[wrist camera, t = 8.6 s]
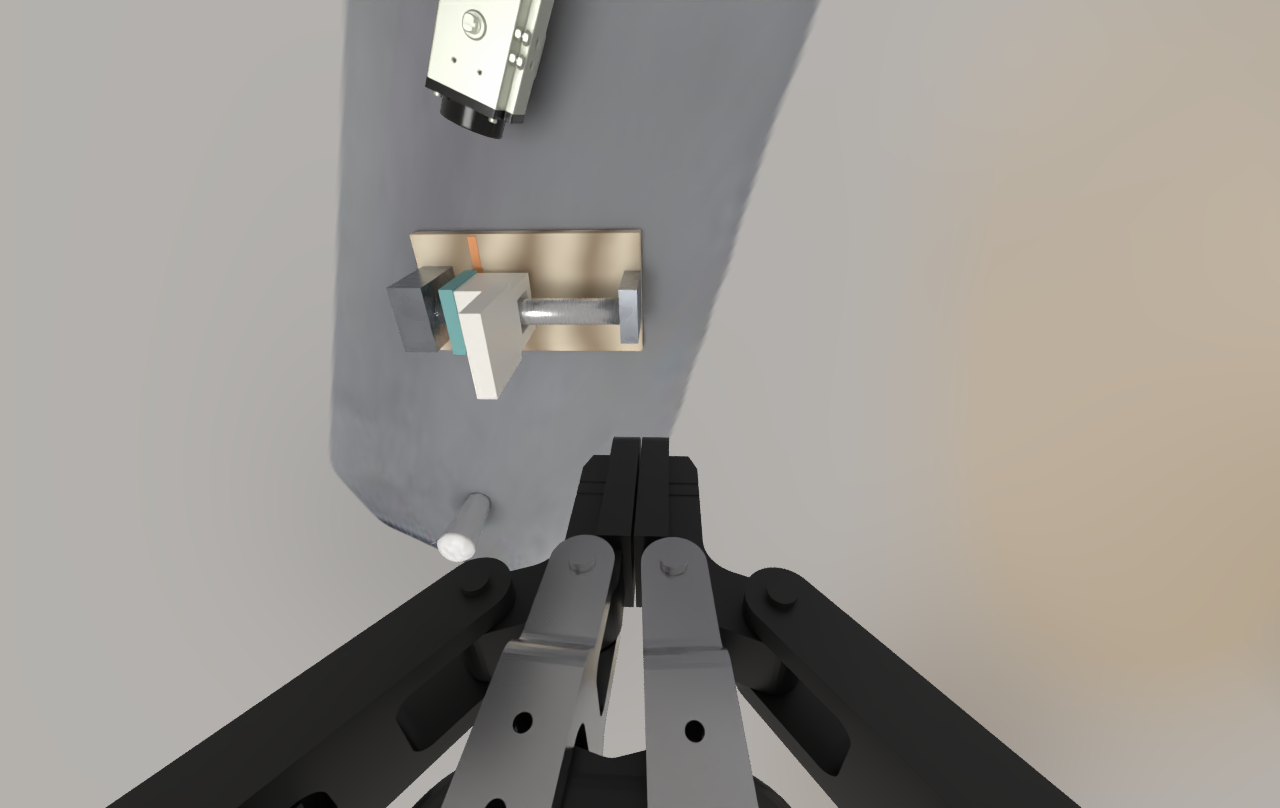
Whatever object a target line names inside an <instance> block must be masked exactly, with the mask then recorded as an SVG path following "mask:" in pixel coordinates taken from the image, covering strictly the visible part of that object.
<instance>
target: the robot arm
mask: <svg viewBox="0 0 1280 808" xmlns="http://www.w3.org/2000/svg"><path fill="white" fill-rule="evenodd" d="M635 582H636V606H637V607H642V620H643V656H644V657H643V658H644V694H645V731H646V750H645V751H641V752H637V753H633V754H629V755H625V756H621V757H616V758H607V757H603V746H604V730H605V722H606V716H607V710H608V705H609V699H610V693H611V688H612V681H613V676H614V670H615V665H616V659H617V654H618V648H619V642H620V631H621V626H622V617H623V607H633V606H634V593H635ZM735 684H736V686H737V687H738V690H739V691H740V693H741V694H742V695H743V696H744V698H745V699H746V700H747V701H748V702H749V703H750V705H751V706H752V707H753V708H754V709H755V710H756V712H757V713H758V714H759V715H760V716H761V718H762V719H763V720H764V721H765V722H766V723H767V725H768V726H769V727H770V728H771V729H772V730H773V732H774V733H775V734H776V735H777V736H778V737H779V739H780V740H781V741H782V742H783V743H784V745H785V746H786V747H787V748H788V749H789V750H790V752H791V753H792V754H793V755H794V756H795V757H796V758H797V760H798V761H799V762H800V763H801V764H802V766H803V767H804V768H805V769H806V770H807V771H808V773H809V774H810V775H811V776H812V777H813V778H814V780H815V781H816V782H817V783H818V784H819V785H820V787H821V788H822V789H823V790H824V791H825V792H826V794H827V795H828V796H829V797H830V798H831V800H832V801H833V802H834V803H835V804H836V805H837V806H838V808H1081V807H1080V806H1079V805H1078V804H1076V803H1075V802H1074V801H1073V800H1071V799H1070V798H1069V797H1068V796H1067V795H1065V794H1064V793H1063V792H1062V791H1061V790H1059V789H1058V788H1057V787H1056V786H1054V785H1053V784H1052V783H1051V782H1050V781H1048V780H1047V779H1046V778H1045V777H1043V776H1042V775H1041V774H1040V773H1039V772H1038V771H1036V770H1035V769H1034V768H1033V767H1031V766H1030V765H1029V764H1028V763H1027V762H1025V761H1024V760H1023V759H1022V758H1021V757H1019V756H1018V755H1017V754H1016V753H1014V752H1013V751H1012V750H1011V749H1009V748H1008V747H1007V746H1006V745H1005V744H1004V743H1002V742H1001V741H1000V740H999V739H998V738H996V737H995V736H994V735H993V734H991V733H990V732H989V731H988V730H987V729H985V728H984V727H983V726H982V725H981V724H979V723H978V722H977V721H976V720H974V719H973V718H972V717H971V716H970V715H969V714H967V713H966V712H965V711H964V710H962V709H961V708H960V707H959V706H958V705H956V704H955V703H954V702H953V701H951V700H950V699H949V698H948V697H947V696H946V695H944V694H943V693H942V692H941V691H939V690H938V689H937V688H936V687H934V686H933V685H932V684H931V683H930V682H929V681H927V680H926V679H925V678H924V677H923V676H921V675H920V674H919V673H918V672H916V671H915V670H914V669H913V668H912V667H910V666H909V665H908V664H907V663H905V662H904V661H903V660H902V659H901V658H899V657H898V656H897V655H896V654H895V653H893V652H892V651H891V650H890V649H889V648H887V647H886V646H885V645H884V644H883V643H881V642H880V641H879V640H878V639H876V638H875V637H874V636H873V635H872V634H870V633H869V632H868V631H867V630H866V629H864V628H863V627H862V626H861V625H860V624H858V623H857V622H856V621H855V620H853V619H852V618H851V617H850V616H849V615H847V614H846V613H845V612H844V611H842V610H841V609H840V608H839V607H837V606H836V605H835V604H834V603H833V602H832V601H830V600H829V599H828V598H827V597H826V596H824V595H823V594H822V593H821V592H820V591H818V590H817V589H816V588H815V587H814V586H812V585H811V584H810V583H809V582H807V581H806V580H805V579H804V578H802V577H801V576H800V575H798V574H796V573H794V572H792V571H789V570H786V569H782V568H764V569H761V570H759V571H757V572H755V573H754V574H752V575H751V576H750V577H746V576H743V575H740V574H737V573H733V572H731V571H728V570H726V569H724V568H722V567H720V566H719V565H718V564H716V563H715V562H714V561H713V560H711V558H710V557H709V556H708V554H707V553H706V551H705V549H704V546H703V539H702V527H701V514H700V500H699V487H698V474H697V468H696V467H695V465H694V464H693V462H692V461H691V460H690V458H689V457H685V456H669V438H662V437H643V438H642V447H641V438H640V437H614V438H613V443H612V448H611V454H610V455H594V456H593V457H592V458H591V459H590V460H589V461H588V462H587V463H586V465H585V466H584V467H583V470H582V474H581V478H580V484H579V486H578V490H577V495H576V498H575V502H574V506H573V510H572V514H571V518H570V522H569V526H568V530H567V534H566V538H565V541H563V542H562V543H560V544H559V545H558V546H557V547H556V548H555V549H554V551H553V552H552V554H551V556H550V558H549V559H548V560H546V561H544V562H542V563H540V564H537V565H534V566H530V567H526V568H522V569H518V570H514V571H510V570H509V568H508V567H507V566H506V564H505V563H503V562H502V561H500V560H498V559H494V558H477V559H473V560H470V561H467V562H465V563H463V564H461V565H460V566H458V567H456V568H455V569H454V570H452V571H451V572H449V573H448V574H446V575H445V576H443V577H442V578H440V579H439V580H438V581H436V582H435V583H433V584H432V585H430V586H429V587H427V588H426V589H424V590H423V591H421V592H420V593H418V594H417V595H416V596H414V597H413V598H411V599H410V600H408V601H407V602H405V603H404V604H402V605H401V606H400V607H398V608H397V609H395V610H394V611H392V612H391V613H389V614H388V615H386V616H385V617H383V618H382V619H381V620H379V621H378V622H376V623H375V624H373V625H372V626H370V627H369V628H367V629H366V630H364V631H363V632H362V633H360V634H359V635H357V636H356V637H354V638H353V639H351V640H350V641H348V642H347V643H345V644H344V645H343V646H341V647H340V648H338V649H337V650H335V651H334V652H332V653H331V654H329V655H328V656H327V657H325V658H324V659H322V660H321V661H320V662H318V663H316V664H315V665H314V666H312V667H311V668H309V669H307V670H306V671H305V672H303V673H302V674H300V675H299V676H297V677H296V678H294V679H293V680H291V681H290V682H289V683H287V684H286V685H284V686H283V687H282V688H280V689H278V690H277V691H275V692H274V693H272V694H271V695H270V696H268V697H267V698H265V699H264V700H262V701H261V702H259V703H258V704H256V705H255V706H253V707H252V708H251V709H249V710H248V711H246V712H245V713H243V714H242V715H240V716H239V717H238V718H236V719H234V720H233V721H232V722H230V723H229V724H227V725H226V726H224V727H223V728H221V729H220V730H219V731H217V732H215V733H214V734H213V735H211V736H210V737H208V738H207V739H205V740H204V741H202V742H201V743H200V744H198V745H196V746H195V747H194V748H192V749H191V750H189V751H188V752H186V753H185V754H183V755H182V756H180V757H179V758H178V759H176V760H175V761H173V762H172V763H170V764H169V765H167V766H166V767H164V768H163V769H161V770H160V771H159V772H157V773H156V774H154V775H153V776H151V777H150V778H148V779H147V780H146V781H144V782H142V783H141V784H140V785H138V786H137V787H135V788H134V789H132V790H131V791H129V792H128V793H126V794H125V795H123V796H122V797H121V798H119V799H118V800H116V801H115V802H113V803H112V804H110V805H109V806H108V807H106V808H386V807H387V806H388V805H389V804H390V803H391V802H392V801H394V800H395V799H396V798H397V797H398V796H399V795H400V794H401V793H402V792H403V791H404V790H405V789H406V788H407V787H408V786H409V785H411V784H412V783H413V782H414V781H415V780H416V779H417V778H418V777H419V776H420V775H421V774H422V773H423V772H424V771H425V770H426V769H427V768H429V766H431V765H432V764H433V763H434V762H435V761H436V760H437V759H438V758H439V757H440V756H441V755H442V754H443V753H444V752H446V751H447V749H449V747H451V746H452V745H453V744H454V743H455V742H456V741H457V740H458V739H459V738H460V737H461V736H462V735H463V734H465V733H466V732H467V731H468V730H469V729H470V728H471V727H472V726H473V728H472V730H471V733H470V735H469V738H468V740H467V743H466V746H465V748H464V751H463V753H462V756H461V758H460V761H459V763H458V766H457V768H456V770H455V771H454V772H452V773H451V774H450V775H448V776H447V777H445V778H444V779H442V780H441V781H440V782H439V783H437V784H436V785H435V786H434V787H433V788H432V789H430V790H429V791H428V792H427V793H426V794H425V795H424V796H423V797H422V798H421V799H420V800H419V801H418V802H417V803H416V804H415V805H414V806H413V807H412V808H791V807H790V806H789V805H788V804H787V803H786V801H785V800H784V799H783V798H782V797H781V796H779V795H778V794H777V793H776V792H775V791H774V790H773V789H771V788H770V787H769V786H768V785H766V784H765V783H763V782H762V781H760V780H759V779H758V778H756V777H754V776H753V775H752V771H751V765H750V760H749V754H748V749H747V744H746V739H745V733H744V728H743V722H742V717H741V712H740V706H739V701H738V696H737V691H736V686H735Z"/></svg>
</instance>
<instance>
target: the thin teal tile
mask: <svg viewBox="0 0 1280 808" xmlns="http://www.w3.org/2000/svg"><path fill="white" fill-rule="evenodd" d="M476 273H477V270H464V271H463V272H461V273H460V274H459V275H457V276H456V277H455V278H453V279H452V280H451V281H449V282H448V283H447V284H445V285H444V286H443V287H441V288H440V289H439V290H438V292H439V296H440V300H441V305H442V309H443V313H444V317H445V321H446V325H447V329H448V333H449V337H450V341H451V346H452V350H453V354H454V355H467V351H466V346H465V342H464V337H463V333H462V329H461V324H460V320H459V315H458V310H457V306H456V301H455V297H454V293H453V291H454V290H456V289H457V288H458V287H459V286H461V285H462V284H463V283H464V282H466V281H467V280H468V279H469V278H471V277H472V276H473V275H474V274H476Z"/></svg>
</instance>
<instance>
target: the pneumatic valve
mask: <svg viewBox="0 0 1280 808" xmlns="http://www.w3.org/2000/svg"><path fill="white" fill-rule="evenodd" d="M553 4H554V0H439V3H438V9H437V15H436V22H435V28H434V34H433V41H432V47H431V53H430V59H429V66H428V72H427V78H426V85H425V87H427V88H429V89H431V90H433V91H434V92H433V94H434V95H436V96H438V97H442V95H443V98H442V104H441V109H440V113H441V114H442V115H443V116H444V117H445V118H447V119H448V120H450V121H452V122H454V123H455V124H457V125H459V126H461V127H464V128H466V129H468V130H471V131H473V132H476V133H478V134H481V135H484V136H487V137H491V138H495V139H501V138H502V135H503V130H504V126H505V122H506V121H507V122H509V123H511V124H513V123H523V120H524V116H525V112H526V108H527V104H528V100H529V97H530V93H531V89H532V85H533V81H534V79H536V75H537V71H538V67H539V63H540V60H541V56H542V52H543V48H544V44H545V40H546V36H547V35H546V31H547V27H548V23H549V19H550V16H551V12H552V8H553Z"/></svg>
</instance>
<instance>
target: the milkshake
mask: <svg viewBox="0 0 1280 808" xmlns="http://www.w3.org/2000/svg"><path fill="white" fill-rule="evenodd" d="M489 509H490V500H489V499H488V498H487V497H486V496H485V495H482V494H480V493H473V494H470V495H469V496H468V497H467V499H466V500H465V502H464V503H463V505H462V506H461V508H460V509H459V511H458V512H457V514H456V515H455V517H454V518H453V520H452V521H451V523H450V524H449V526H448V527H447V528H446V530H445V531H444V533H443V534H442V535H441V537H440V538H439V539H437V540H436V541H438V543H437V545H438V549H439V551H440V553H441V554H442V555H443V556H444V557H445V558H447V559H448V560H450V561H454V562H462V561H465V560H467V559H469V558H471V557H472V556H473V555H474V553H475V550H476V546H477V543H478V540H479V537H480V534H481V531H482V528H483V526H484V523H485V520H486V517H487V514H488V512H489ZM436 541H435V542H436ZM435 542H433V543H435ZM433 543H432V544H433Z"/></svg>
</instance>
